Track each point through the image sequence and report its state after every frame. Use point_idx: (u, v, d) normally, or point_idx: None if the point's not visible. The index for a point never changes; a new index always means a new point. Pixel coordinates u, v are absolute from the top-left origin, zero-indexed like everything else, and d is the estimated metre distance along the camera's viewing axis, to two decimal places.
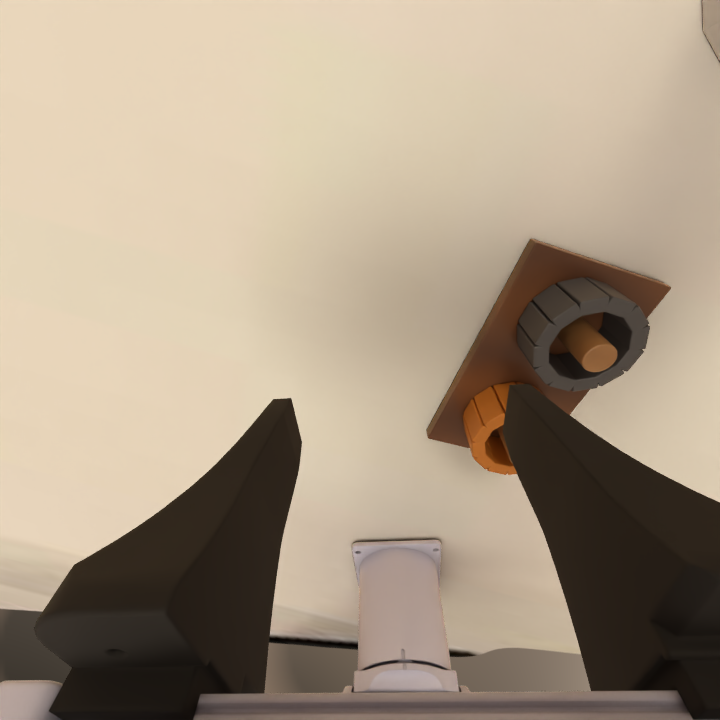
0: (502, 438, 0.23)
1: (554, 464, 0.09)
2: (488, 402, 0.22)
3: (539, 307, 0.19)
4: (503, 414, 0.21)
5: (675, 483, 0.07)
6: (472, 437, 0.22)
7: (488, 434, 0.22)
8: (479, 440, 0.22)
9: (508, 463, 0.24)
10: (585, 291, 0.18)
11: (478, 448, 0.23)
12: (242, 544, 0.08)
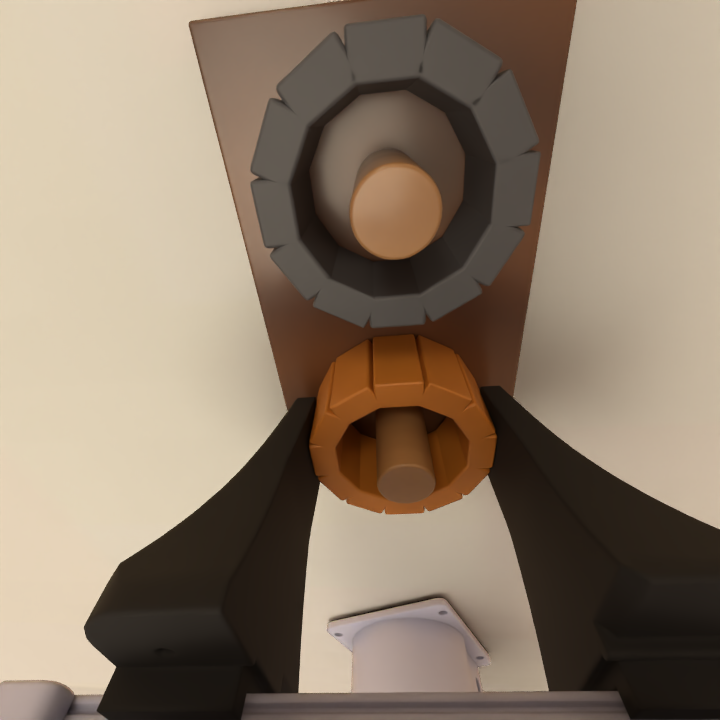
0: None
1: (517, 466, 0.09)
2: (322, 394, 0.11)
3: None
4: (328, 414, 0.10)
5: (626, 485, 0.07)
6: None
7: (332, 457, 0.11)
8: (326, 471, 0.11)
9: None
10: None
11: (336, 484, 0.12)
12: (279, 542, 0.08)
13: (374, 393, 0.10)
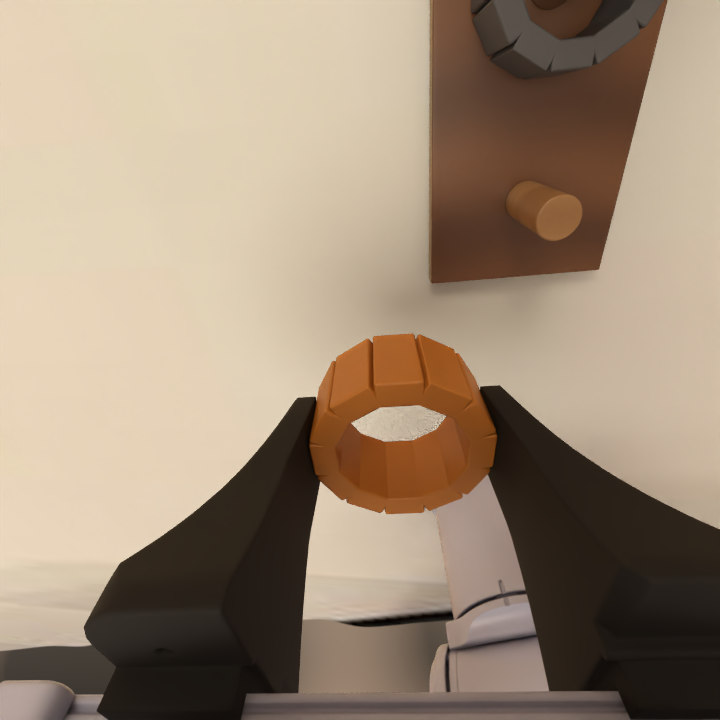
0: (522, 218, 0.15)
1: (517, 466, 0.09)
2: (322, 394, 0.11)
3: None
4: (328, 413, 0.10)
5: (626, 485, 0.07)
6: None
7: (332, 456, 0.11)
8: (326, 470, 0.11)
9: (418, 491, 0.12)
10: None
11: (337, 483, 0.12)
12: (279, 542, 0.08)
13: (374, 392, 0.10)
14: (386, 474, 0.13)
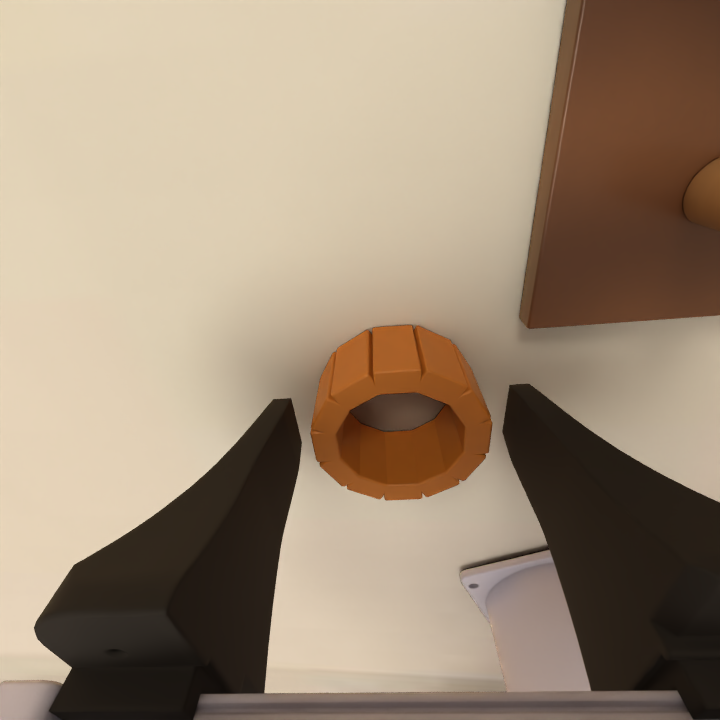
0: None
1: (554, 464, 0.09)
2: (324, 383, 0.12)
3: None
4: (329, 400, 0.10)
5: (675, 483, 0.07)
6: None
7: (333, 443, 0.11)
8: (327, 457, 0.12)
9: (416, 478, 0.13)
10: None
11: (337, 470, 0.12)
12: (243, 543, 0.08)
13: (373, 380, 0.10)
14: (385, 462, 0.13)
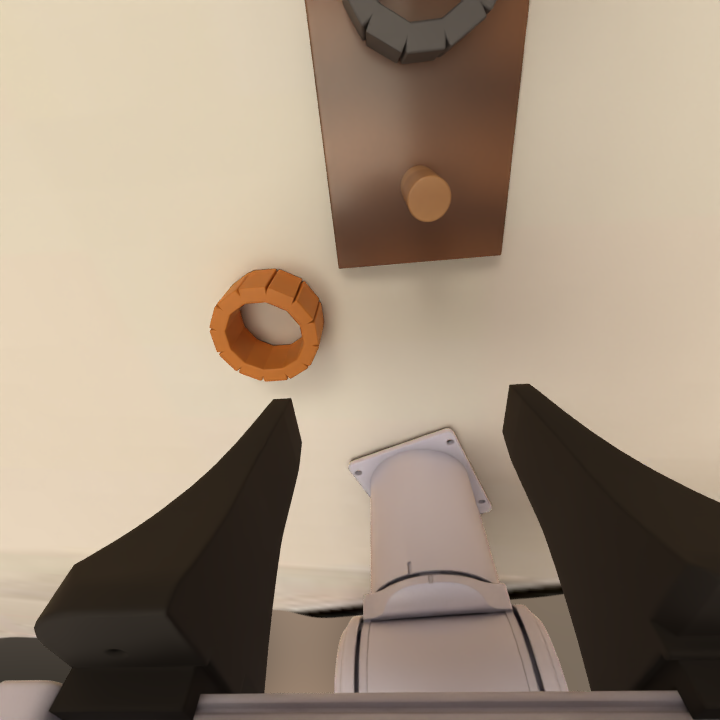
0: None
1: (554, 464, 0.09)
2: None
3: None
4: (216, 308, 0.18)
5: (675, 483, 0.07)
6: None
7: (224, 337, 0.19)
8: (222, 348, 0.19)
9: (282, 365, 0.20)
10: None
11: (230, 357, 0.20)
12: (243, 543, 0.08)
13: (239, 294, 0.18)
14: (266, 359, 0.21)
